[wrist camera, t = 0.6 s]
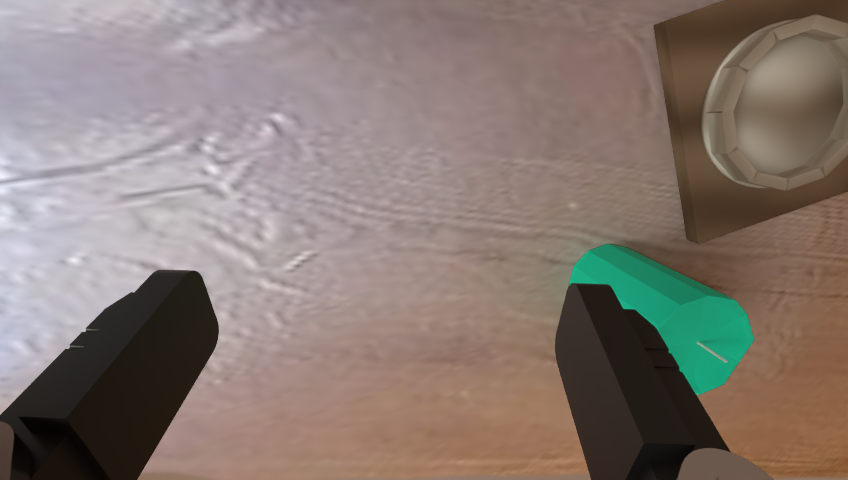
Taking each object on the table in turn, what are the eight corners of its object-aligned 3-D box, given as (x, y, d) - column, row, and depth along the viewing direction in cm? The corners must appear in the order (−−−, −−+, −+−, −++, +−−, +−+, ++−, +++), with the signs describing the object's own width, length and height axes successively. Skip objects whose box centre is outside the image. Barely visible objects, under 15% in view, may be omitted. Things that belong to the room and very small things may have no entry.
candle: (590, 329, 34) (698, 431, 23) (555, 272, 33) (652, 352, 21) (653, 287, 34) (796, 370, 22) (621, 228, 32) (756, 285, 21)
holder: (653, 25, 29) (684, 13, 26) (845, -41, 29) (897, -60, 26) (687, 239, 33) (716, 250, 30) (853, 181, 33) (899, 186, 30)
